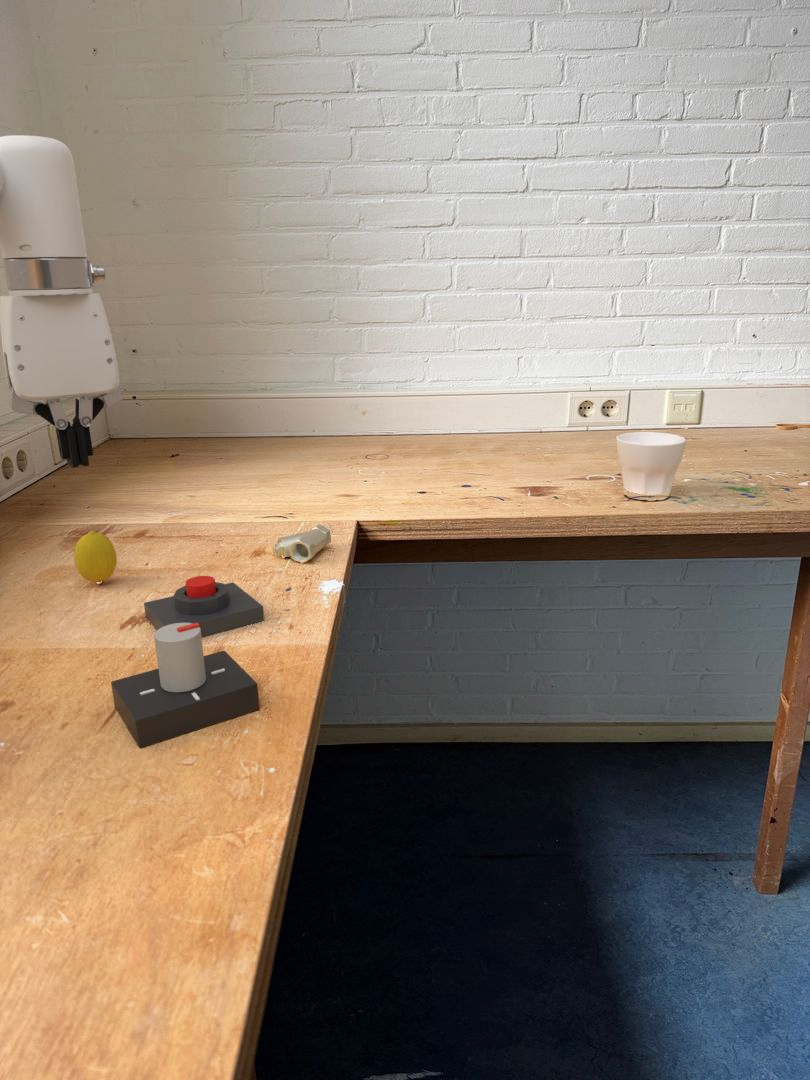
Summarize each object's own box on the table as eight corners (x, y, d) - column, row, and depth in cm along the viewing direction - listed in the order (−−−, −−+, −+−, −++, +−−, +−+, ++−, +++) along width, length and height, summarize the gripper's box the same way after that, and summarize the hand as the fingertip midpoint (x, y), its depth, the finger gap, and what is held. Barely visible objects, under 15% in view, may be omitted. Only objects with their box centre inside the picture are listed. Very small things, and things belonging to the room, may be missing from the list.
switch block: (170, 647, 94) (166, 615, 93) (145, 618, 102) (141, 589, 101) (264, 622, 100) (261, 592, 99) (234, 597, 108) (231, 569, 107)
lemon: (123, 586, 113) (116, 532, 110) (82, 594, 110) (73, 539, 108) (115, 574, 117) (108, 522, 115) (75, 582, 115) (67, 529, 112)
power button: (192, 601, 98) (190, 588, 97) (182, 592, 100) (181, 579, 100) (220, 594, 99) (219, 581, 99) (210, 586, 102) (209, 573, 102)
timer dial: (168, 697, 77) (161, 642, 75) (154, 679, 80) (147, 626, 78) (212, 684, 79) (206, 630, 77) (197, 667, 82) (191, 615, 81)
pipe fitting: (271, 564, 121) (312, 564, 119) (267, 539, 120) (308, 539, 118) (293, 547, 129) (332, 547, 126) (290, 524, 127) (329, 524, 125)
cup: (690, 503, 146) (696, 444, 142) (622, 505, 146) (626, 445, 142) (668, 486, 157) (673, 430, 154) (605, 487, 157) (608, 432, 154)
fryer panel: (139, 748, 74) (135, 718, 73) (114, 707, 81) (110, 679, 80) (260, 709, 80) (257, 681, 79) (227, 674, 87) (224, 648, 86)
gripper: (117, 277, 84) (140, 449, 90) (-42, 281, 76) (-6, 468, 82) (137, 277, 78) (160, 460, 84) (-33, 281, 70) (4, 482, 76)
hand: (78, 464), depth 83 cm, fingers closed
